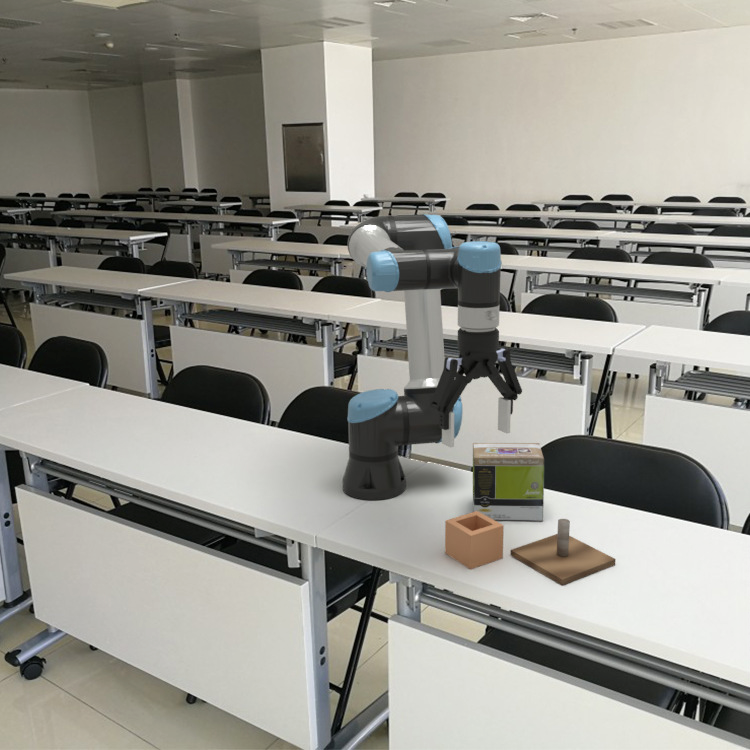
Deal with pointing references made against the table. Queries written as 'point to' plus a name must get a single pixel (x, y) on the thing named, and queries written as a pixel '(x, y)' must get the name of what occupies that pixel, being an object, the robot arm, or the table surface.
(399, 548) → the table surface
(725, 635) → the table surface
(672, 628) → the table surface
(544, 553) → the post board
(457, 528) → the collar
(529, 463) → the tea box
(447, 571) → the table surface
